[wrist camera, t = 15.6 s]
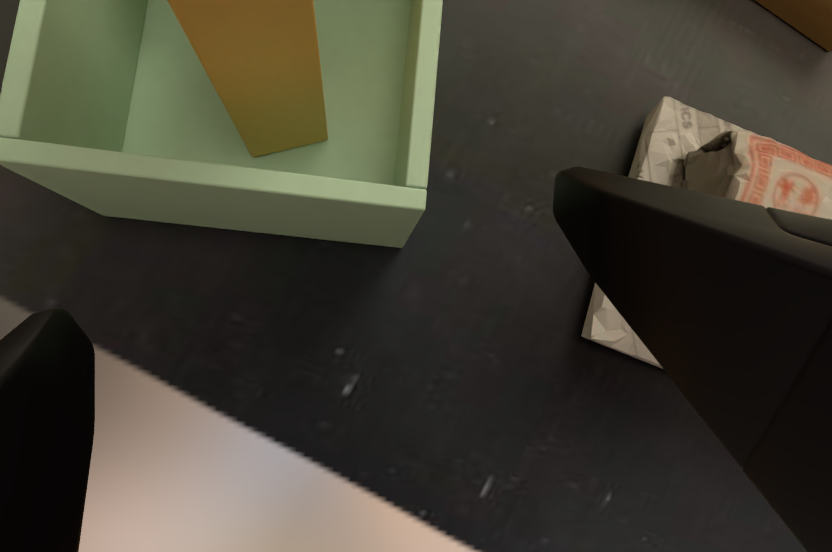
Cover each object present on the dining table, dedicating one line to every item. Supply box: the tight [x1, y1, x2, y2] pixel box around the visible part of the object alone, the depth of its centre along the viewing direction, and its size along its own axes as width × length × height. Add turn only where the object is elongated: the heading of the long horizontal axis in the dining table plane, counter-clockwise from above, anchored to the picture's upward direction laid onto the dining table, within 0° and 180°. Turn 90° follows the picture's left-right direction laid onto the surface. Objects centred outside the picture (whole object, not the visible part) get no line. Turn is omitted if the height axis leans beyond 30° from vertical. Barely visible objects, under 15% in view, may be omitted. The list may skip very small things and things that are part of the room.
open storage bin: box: [0, 0, 443, 248], centre depth 16 cm, size 11×11×6 cm
